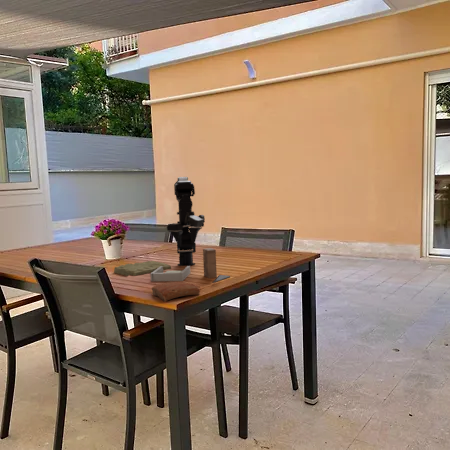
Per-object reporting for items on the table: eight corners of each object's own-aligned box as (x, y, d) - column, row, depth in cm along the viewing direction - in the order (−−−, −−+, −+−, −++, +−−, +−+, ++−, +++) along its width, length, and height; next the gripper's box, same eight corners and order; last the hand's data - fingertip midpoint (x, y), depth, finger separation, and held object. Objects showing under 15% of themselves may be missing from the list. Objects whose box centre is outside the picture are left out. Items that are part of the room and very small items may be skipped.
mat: (208, 274, 194) (208, 273, 194) (230, 277, 187) (230, 276, 187) (190, 279, 185) (190, 278, 185) (212, 282, 177) (212, 281, 177)
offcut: (167, 274, 194) (167, 270, 194) (181, 274, 193) (181, 270, 193) (164, 276, 190) (164, 273, 190) (178, 276, 189) (178, 272, 189)
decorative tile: (171, 271, 206) (171, 263, 206) (134, 279, 192) (134, 270, 192) (148, 266, 220) (148, 259, 219) (112, 273, 206) (112, 266, 205)
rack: (160, 275, 196) (160, 266, 195) (190, 274, 194) (190, 265, 194) (150, 283, 181) (150, 273, 180) (182, 283, 179) (182, 273, 179)
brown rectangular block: (204, 276, 188) (202, 248, 187) (211, 275, 189) (210, 247, 188) (208, 279, 182) (207, 250, 181) (216, 278, 184) (215, 249, 182)
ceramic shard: (181, 274, 172) (201, 287, 160) (178, 290, 173) (198, 304, 160) (146, 275, 163) (165, 288, 151) (144, 292, 164) (162, 306, 152)
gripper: (184, 211, 182) (186, 249, 183) (212, 208, 197) (214, 242, 198) (165, 211, 188) (167, 247, 190) (193, 208, 203) (195, 241, 205)
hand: (186, 244), depth 196 cm, fingers open, 9 cm apart
